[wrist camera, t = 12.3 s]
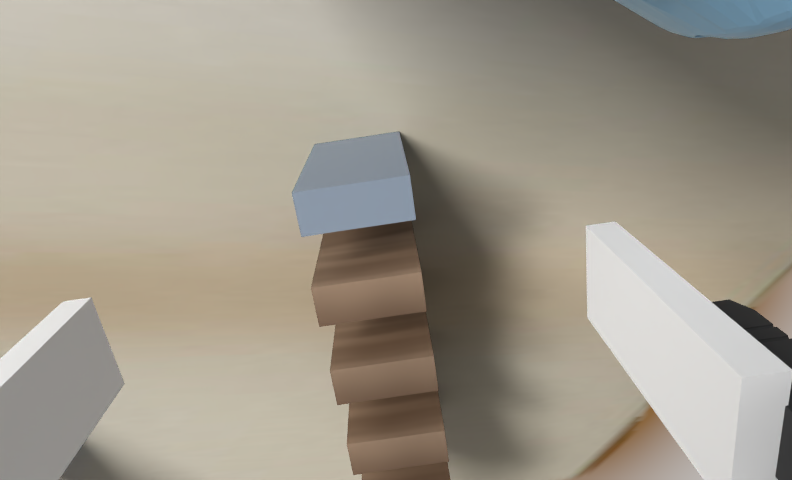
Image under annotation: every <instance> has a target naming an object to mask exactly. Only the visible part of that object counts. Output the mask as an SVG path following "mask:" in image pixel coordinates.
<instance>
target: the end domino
mask: <svg viewBox="0 0 792 480" xmlns="http://www.w3.org/2000/svg"><path fill="white" fill-rule="evenodd" d="M362 480H450V475H449V469H448V463H447V462H442V463H435V464H428V465H421V466H413V467H406V468H399V469H392V470H385V471H378V472H371V473H364V474H362Z"/></svg>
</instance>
